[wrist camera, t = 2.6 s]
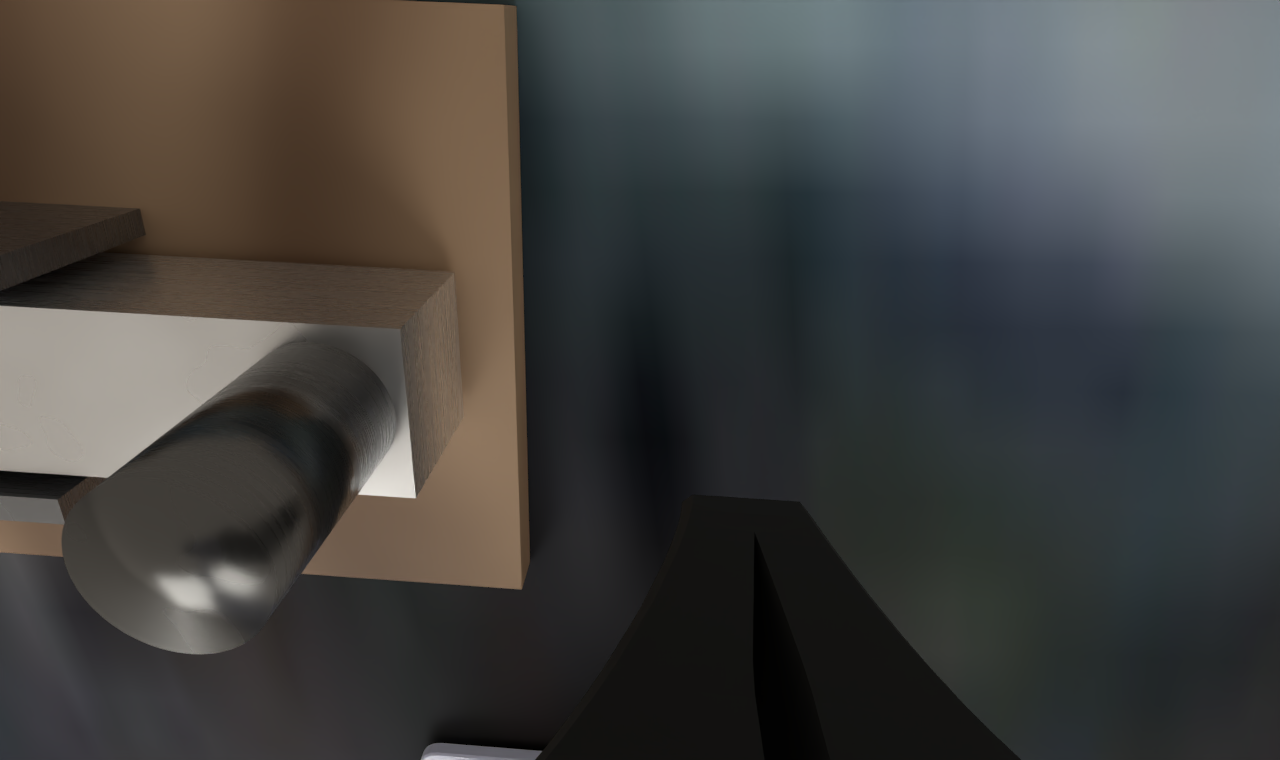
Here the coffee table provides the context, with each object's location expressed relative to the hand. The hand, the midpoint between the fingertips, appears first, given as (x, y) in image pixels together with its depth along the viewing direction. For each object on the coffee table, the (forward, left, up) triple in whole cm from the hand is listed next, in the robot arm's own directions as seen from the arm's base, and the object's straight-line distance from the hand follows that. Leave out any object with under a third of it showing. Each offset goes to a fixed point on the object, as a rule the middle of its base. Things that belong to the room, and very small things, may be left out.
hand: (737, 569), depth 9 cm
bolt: (+11, 0, -6) cm, 13 cm away
